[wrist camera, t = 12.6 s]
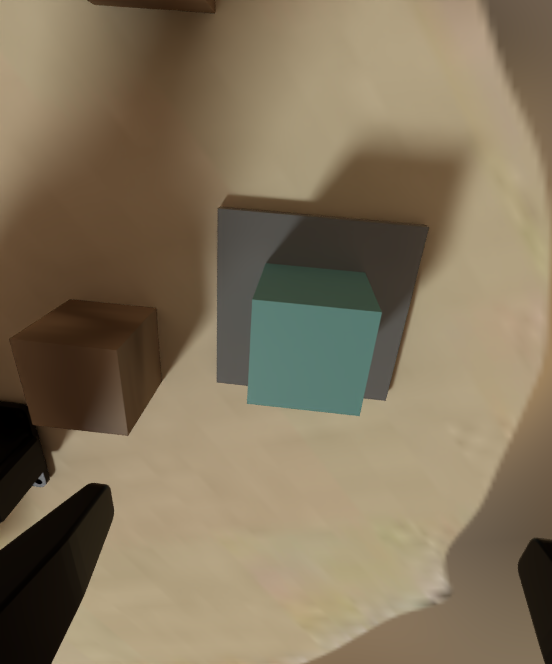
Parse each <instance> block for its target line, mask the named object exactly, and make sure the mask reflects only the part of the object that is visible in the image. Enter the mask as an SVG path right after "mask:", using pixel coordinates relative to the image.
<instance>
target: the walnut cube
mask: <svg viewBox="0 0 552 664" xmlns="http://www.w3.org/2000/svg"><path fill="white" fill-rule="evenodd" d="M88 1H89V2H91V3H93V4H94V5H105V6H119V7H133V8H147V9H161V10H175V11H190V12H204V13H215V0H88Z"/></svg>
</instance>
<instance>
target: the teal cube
mask: <svg viewBox="0 0 552 664" xmlns="http://www.w3.org/2000/svg"><path fill="white" fill-rule="evenodd" d="M381 315H382V311H381V309H380V306H379V304H378V302H377V299H376V297H375V295H374V292H373V290H372V287H371V285H370V283H369V280H368V278H367V276H366V273H364V272H354V271H343V270H333V269H322V268H312V267H301V266H291V265H280V264H270V263H266V264H265V266H264V269H263V272H262V274H261V277H260V280H259V283H258V285H257V288H256V291H255V293H254V296H253V299H252V314H251V334H250V355H249V375H248V396H247V404H255V405H264V406H273V407H282V408H291V409H300V410H309V411H318V412H328V413H337V414H346V415H355V416H360V412H361V407H362V402H363V398H364V393H365V389H366V384H367V379H368V375H369V370H370V365H371V361H372V356H373V352H374V347H375V342H376V338H377V333H378V328H379V324H380V319H381Z"/></svg>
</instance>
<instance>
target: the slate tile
mask: <svg viewBox="0 0 552 664" xmlns="http://www.w3.org/2000/svg"><path fill="white" fill-rule="evenodd" d="M428 229H429V227H428V226H426V225H418V224H407V223H396V222H385V221H374V220H363V219H352V218H341V217H330V216H319V215H308V214H296V213H285V212H274V211H263V210H252V209H241V208H230V207H219V208H218V249H217V382H218V383H227V384H236V385H246V386H248V375H249V355H250V334H251V314H252V299H253V296H254V293H255V291H256V288H257V285H258V283H259V280H260V277H261V274H262V272H263V269H264V266H265V264H266V263H270V264H280V265H291V266H301V267H312V268H322V269H333V270H343V271H354V272H364V273H366V276H367V278H368V280H369V283H370V285H371V287H372V290H373V292H374V295H375V297H376V299H377V302H378V304H379V306H380V309H381V311H382V315H381V319H380V324H379V328H378V333H377V338H376V342H375V347H374V352H373V356H372V361H371V365H370V370H369V375H368V379H367V384H366V389H365V393H364V398H365V399H375V400H384V401H386V397H387V393H388V389H389V385H390V381H391V377H392V373H393V369H394V365H395V361H396V357H397V353H398V349H399V345H400V341H401V337H402V333H403V329H404V325H405V321H406V317H407V313H408V309H409V305H410V301H411V297H412V293H413V289H414V285H415V281H416V277H417V273H418V269H419V265H420V261H421V257H422V253H423V249H424V245H425V241H426V237H427V233H428Z"/></svg>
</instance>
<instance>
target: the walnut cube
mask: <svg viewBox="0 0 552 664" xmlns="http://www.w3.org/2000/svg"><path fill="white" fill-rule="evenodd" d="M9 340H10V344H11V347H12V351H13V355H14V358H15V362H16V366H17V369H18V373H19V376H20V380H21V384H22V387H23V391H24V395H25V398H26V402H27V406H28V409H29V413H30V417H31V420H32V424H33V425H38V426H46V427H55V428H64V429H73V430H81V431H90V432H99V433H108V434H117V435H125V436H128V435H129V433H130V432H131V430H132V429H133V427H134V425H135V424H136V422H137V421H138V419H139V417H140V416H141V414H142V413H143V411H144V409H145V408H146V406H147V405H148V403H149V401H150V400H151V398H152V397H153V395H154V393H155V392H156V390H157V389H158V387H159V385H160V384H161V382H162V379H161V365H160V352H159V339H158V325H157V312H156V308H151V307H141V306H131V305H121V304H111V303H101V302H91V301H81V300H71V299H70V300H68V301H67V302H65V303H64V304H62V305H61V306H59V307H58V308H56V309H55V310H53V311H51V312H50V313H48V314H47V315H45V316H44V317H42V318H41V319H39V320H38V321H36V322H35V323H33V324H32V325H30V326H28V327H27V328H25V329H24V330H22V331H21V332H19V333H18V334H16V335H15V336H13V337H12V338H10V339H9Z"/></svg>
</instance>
